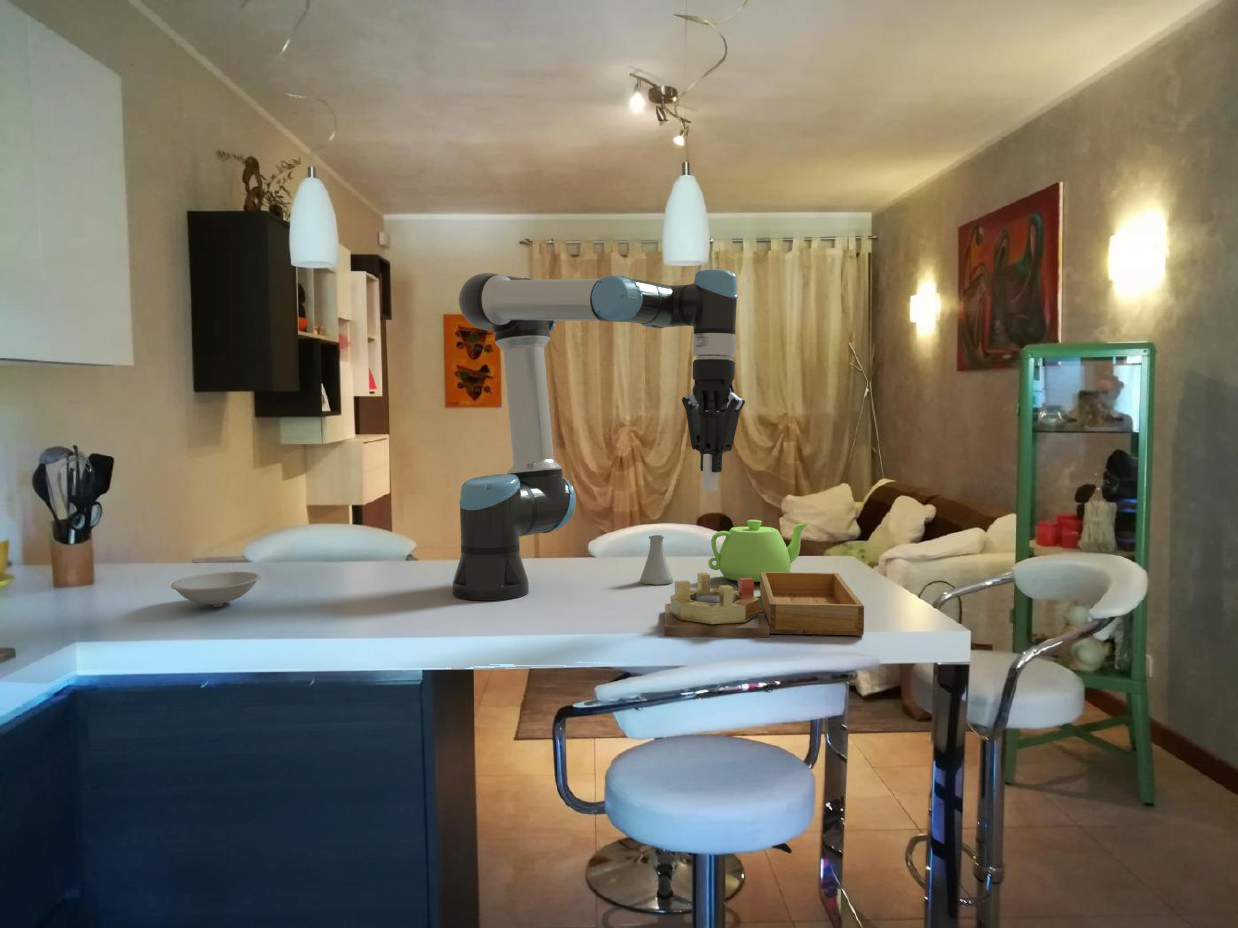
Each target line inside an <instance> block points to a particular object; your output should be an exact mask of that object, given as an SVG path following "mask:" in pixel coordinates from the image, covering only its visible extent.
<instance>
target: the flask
mask: <svg viewBox="0 0 1238 928" xmlns="http://www.w3.org/2000/svg"><path fill="white" fill-rule="evenodd" d="M664 538H665V536H664V535H663V534H650V535H648V539H649V541H650V544H649V550H648V555H647V559H646V561H645V564H644V568H643V571H642V573H641V575H640V579H639V582H640V583H641V584H644V585H645V584H646V585H647V584H648V585H656V586H657V585H669V584H671V583H673V582H674V579H673V575H672V573H671V570H670V567H669V565H668V562H667V559H666V556H665V551H664V545H663V544H664V543H663V541H664V540H663V539H664Z"/></svg>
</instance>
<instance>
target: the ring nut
mask: <svg viewBox="0 0 1238 928" xmlns="http://www.w3.org/2000/svg"><path fill="white" fill-rule="evenodd" d="M737 582H738V584H737V585H738V590H734V587H733V586H731V585H730V584H725V585H719V586H718V587H719V588H711V574H709V573H707V572H697V589H691V581H690V580H675V581H674V594H672V595H670V604H671V613H673V614H674V615H675V616H676V617H678V618H679V619H680V620H686V621H693V622H700V623H708V624H722V623H739V622H746V621H748V620H750V619H752V618H754V617H756V616H758V615H759V605H760V598H758V597H757V596H755V582H754V579H753V578H751V577H749V578H739V580H738V581H737ZM709 595H716V596H719V603H714V604H712V603H704V602H697V598H698V597H701V596H709Z"/></svg>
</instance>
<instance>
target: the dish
mask: <svg viewBox="0 0 1238 928" xmlns="http://www.w3.org/2000/svg"><path fill="white" fill-rule="evenodd" d="M261 577H262V575H261V574H260V573H258V572H254V571H245V570H244V571H242V570H238V571H233V570H232V571H219V572H210V573H203V574H197V575H192V576H188V577H185V578H181V579H177V580H176V581H173V582H172V583H171V584H170V588H171V589H173V590H176V591H177V592H178V593H179V594H180V595H181V596H182V597H183V598H184V599H186V600H188V601H190V602H191V603H195V604H200V605H212V607H214V608H215V607H216V608H220V607H223V605H224V603H229V602H231V601H235V600H238V599H239V598H241V597H244V596H245V594H247V593H248V592H250V590H251V589H252V588H253V587H254V586H255V584H256V583H257V581H259V580H260V579H261Z"/></svg>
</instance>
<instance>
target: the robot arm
mask: <svg viewBox="0 0 1238 928" xmlns="http://www.w3.org/2000/svg"><path fill="white" fill-rule="evenodd" d="M737 288H738V285H737V276H736V274H735V273H734V272H733V271H731V270H728V269H727V270H726V269H704V270H702V269H701V270H699V271H696V273H695V275H694V280H693V283H690V284H676V285H675V284H673V285H670V284H664V283H658V282H652V281H646V280H641V279H635V278H630V277H628V276H626V275H606V276H604V277H602V278H600V277H599V278H597V277H596V278H557V279H555V278H553V279H551V278H549V279H547V278H546V279H533V278H528V277H518V276H509V275H504V274H498V273H492V272H484V273H478V274H476V275H473V276H471V277H469V278H468V279H467V280H466V281H465V282H464V284H463V285H462V287H461V289H460V292H459V296H458V305H459V309H460V312H461V314H462V316H463V317H464V320H466V321H467V322H468V323H469V324H470V325H472V326H473V327H474V328H477V329H479V330H482V331H488V332H493V333H494V334H493V335H494V343H495V345H496V346H497V347H498V348H499V349H500V350H502V353H503V363H504V373H505V374H504V375H505V376H504V377H505V386H506V395H507V396H506V397H507V407H508V408H507V409H508V417H509V418H508V419H509V427H510V441H511V448H512V449H511V450H512V459H513V460H512V461H513V463H512V465H511V467H510V468H509V470H508V471H507V473H499V474H492V475H482V476H478V477H474V478H473V477H472V478H471V479H468V480H466V481H465V482H463V484H462V485H461V487H460V499H459V514H460V515H459V517H460V522H459V523H460V557H459V562H458V565H457V568H456V571H455V574H454V578H453V581H452V596H453V597H456V598H459V599H463V600H470V601H499V600H500V601H501V600H511V599H514V598H515V599H516V598H520V597H523V596H525V595H528V594H529V587H530V586H529V583H530V582H529V577H528V575H527V572H526V570H525V567H524V563H523V560H522V556H521V554H520V553H521V552H520V547H521V546H520V537H524V536H531V535H537V534H538V535H539V534H549V533H551V532H553V531H558V530H561V529H562V528H564V527H565V526H566V525H567V524H568V523H569V521H570V520H571V519H572V517H573V516H574V513H575V510H576V505H577V496H576V491H575V488H574V487H573V485H572V484H571V483H570V481H569V479H566V478H565V477H564V476H563V467H562V466H561V465H560V464H559V463H558V462H556V460H555V458H554V456H555V455H554V447H553V436H552V423H551V413H550V401H549V391H548V390H549V389H548V382H547V370H546V359H545V347H546V345H548V343H549V342H550V341H551V336H550V335H551V332H552V331H553V330H554V328H555V327H556V324H555V323H557V322H558V321H559V322H560V321H562V322H563V321H564V322H565V321H568V322H569V321H571V322H572V321H573V322H579V321H580V322H605V323H606V322H608V323H609V322H614V323H618V322H619V323H632V324H633V323H634V324H641V325H642V326H643V327H646V328H654V329H656V328H657V329H664V328H671V327H672V328H674V327H693V342H692V343H693V345H692V347H693V348H692V350H693V351H692V355H693V356H694V357H696V359H693V361H692V371H691V372H692V379H693V381H694V385H693V388H692V392H691V394H689V395H688V396H684V397H682V399H681V402H682V404H683V407H684V409H685V413H686V418H687V425H688V432H689V439H690V444H691V449H692V450H696V451H698V452H699V453H700V471H701V472H702V491H706V492H712V491H713V492H715V491H719V483H720V482H719V481H720V480H719V479H720V473H721V472H722V471H723V470H722V469H723V454H725V453H727V452H731V451H732V450H733V446H734V441H735V437H736V433H737V428H738V424H739V419H740V415H741V414H740V413H741V411H742V409H743V407H744V406H745V404H746V400H745V399H744V398H742V397H739V396H738V395H737V394H735V389H734V386H733V381H734V380H735V378H736V377H735V374H736V373H735V372H736V362H735V360H733V359H732V358H735V357H736V351H737V350H736V347H737V346H736V342H737V341H736V340H737V339H736V338H737V337H736V336H737V333H736V325H737V323H736V322H737V303H738V301H737V300H738V297H739V296H738V289H737Z"/></svg>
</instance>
